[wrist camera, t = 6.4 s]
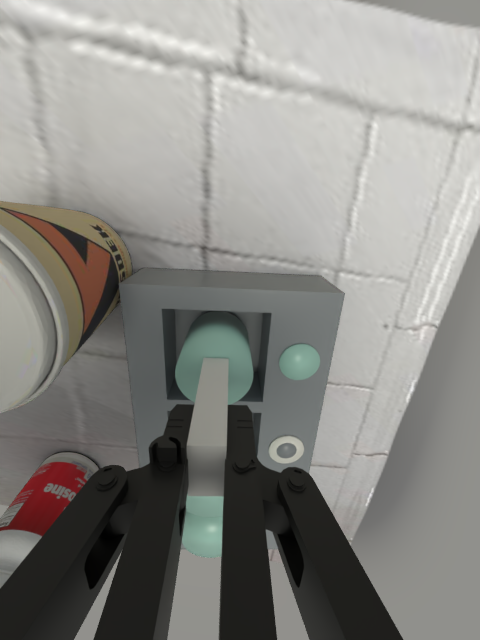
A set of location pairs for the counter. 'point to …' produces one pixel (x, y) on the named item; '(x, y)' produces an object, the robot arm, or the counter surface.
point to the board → (265, 346)
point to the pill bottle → (40, 506)
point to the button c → (216, 354)
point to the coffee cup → (51, 292)
